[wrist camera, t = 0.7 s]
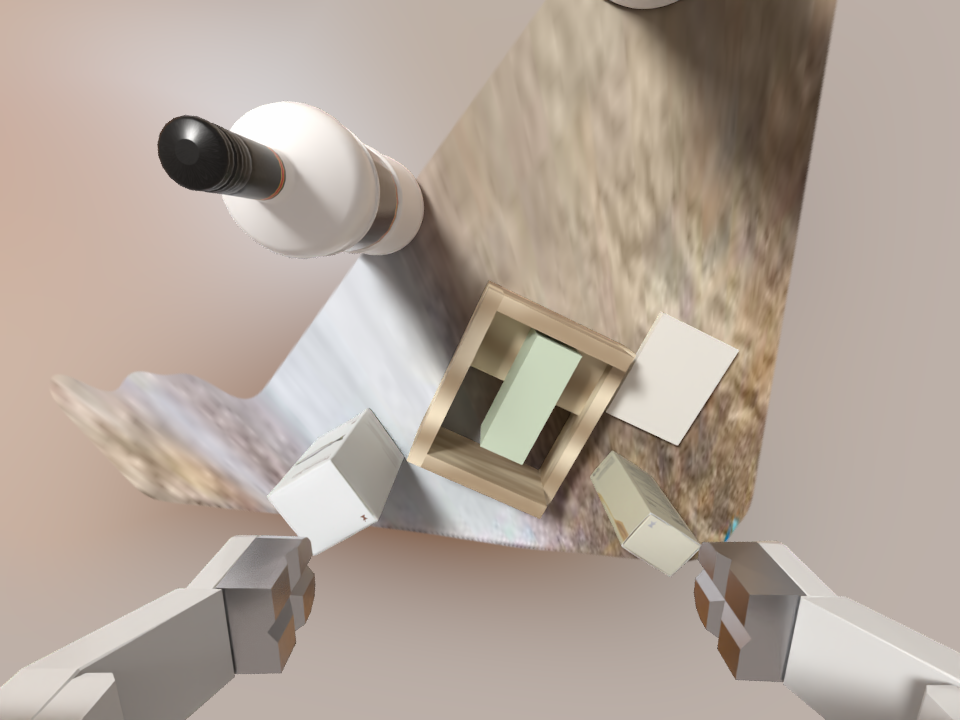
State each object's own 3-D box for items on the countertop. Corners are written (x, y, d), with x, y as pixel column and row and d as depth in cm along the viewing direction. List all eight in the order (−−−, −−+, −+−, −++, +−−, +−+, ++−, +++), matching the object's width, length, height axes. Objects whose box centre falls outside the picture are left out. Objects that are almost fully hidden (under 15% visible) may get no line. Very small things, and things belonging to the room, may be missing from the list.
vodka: (442, 226, 46) (362, 206, 17) (364, 271, 47) (165, 323, 18) (394, 138, 44) (211, -56, 15) (314, 186, 45) (2, 95, 16)
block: (532, 325, 46) (537, 335, 41) (572, 344, 46) (582, 356, 41) (481, 425, 49) (480, 446, 44) (518, 442, 49) (522, 465, 44)
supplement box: (369, 405, 51) (332, 457, 39) (406, 457, 53) (380, 523, 40) (316, 436, 52) (263, 496, 40) (353, 486, 54) (313, 559, 41)
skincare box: (588, 476, 53) (616, 545, 41) (612, 448, 52) (648, 510, 40) (631, 505, 54) (671, 580, 42) (655, 478, 53) (704, 547, 41)
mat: (660, 311, 48) (664, 312, 47) (734, 347, 49) (739, 350, 48) (603, 409, 51) (605, 412, 50) (674, 441, 51) (677, 445, 50)
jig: (488, 280, 47) (488, 288, 40) (624, 345, 49) (648, 364, 41) (417, 429, 52) (406, 460, 44) (544, 485, 53) (553, 524, 46)
